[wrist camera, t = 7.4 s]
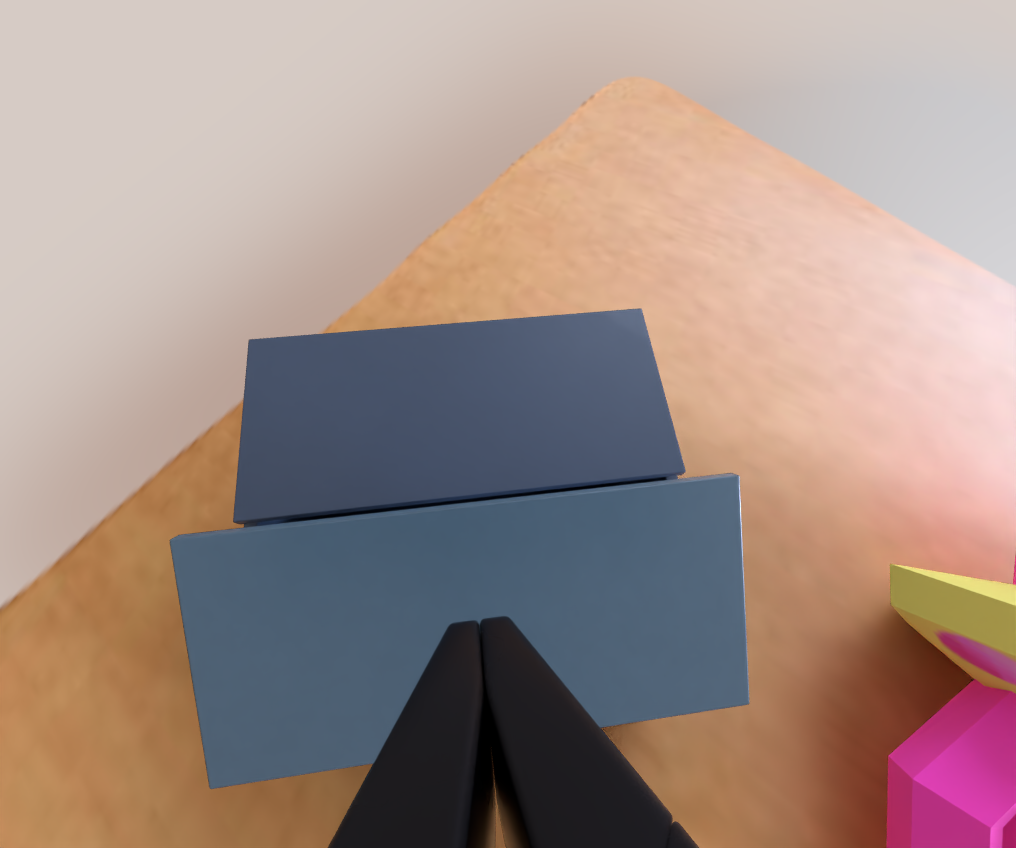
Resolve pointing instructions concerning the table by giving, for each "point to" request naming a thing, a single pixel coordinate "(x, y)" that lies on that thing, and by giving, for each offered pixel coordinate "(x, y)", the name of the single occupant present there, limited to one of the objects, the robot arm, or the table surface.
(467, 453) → the carton
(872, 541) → the table surface
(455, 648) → the robot arm
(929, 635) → the toy
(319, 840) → the table surface
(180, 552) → the flap
